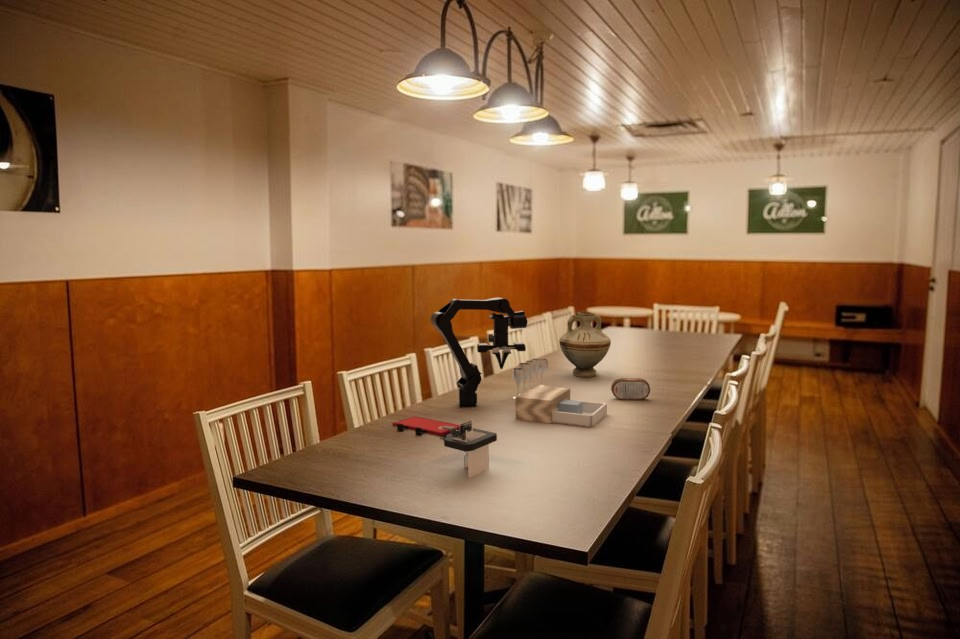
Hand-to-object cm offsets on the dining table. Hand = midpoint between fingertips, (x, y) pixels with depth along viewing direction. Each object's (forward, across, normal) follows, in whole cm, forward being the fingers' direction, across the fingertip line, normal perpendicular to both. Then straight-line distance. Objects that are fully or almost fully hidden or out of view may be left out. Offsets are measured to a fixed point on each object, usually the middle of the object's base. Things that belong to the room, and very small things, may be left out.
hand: (501, 368), depth 245 cm
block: (+10, -18, +25) cm, 33 cm away
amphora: (+13, -45, -42) cm, 63 cm away
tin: (+13, -51, +5) cm, 53 cm away
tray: (+13, -24, +29) cm, 39 cm away
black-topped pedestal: (+14, +19, +74) cm, 78 cm away
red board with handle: (+14, +28, +35) cm, 47 cm away
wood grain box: (+13, -13, +21) cm, 28 cm away
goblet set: (+13, -14, -14) cm, 24 cm away
